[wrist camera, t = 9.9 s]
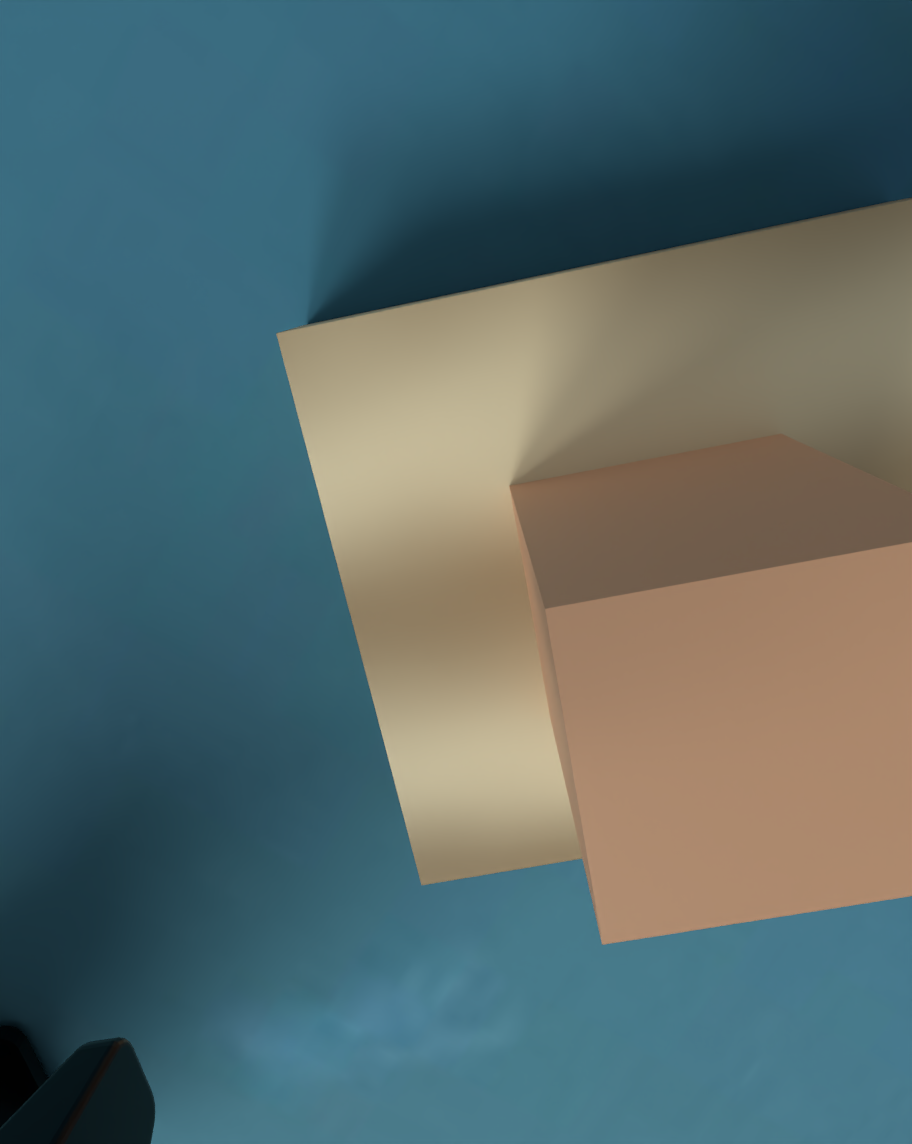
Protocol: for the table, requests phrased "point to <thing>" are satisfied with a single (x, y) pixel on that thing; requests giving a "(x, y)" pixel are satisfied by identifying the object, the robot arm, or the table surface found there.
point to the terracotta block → (727, 681)
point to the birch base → (566, 471)
